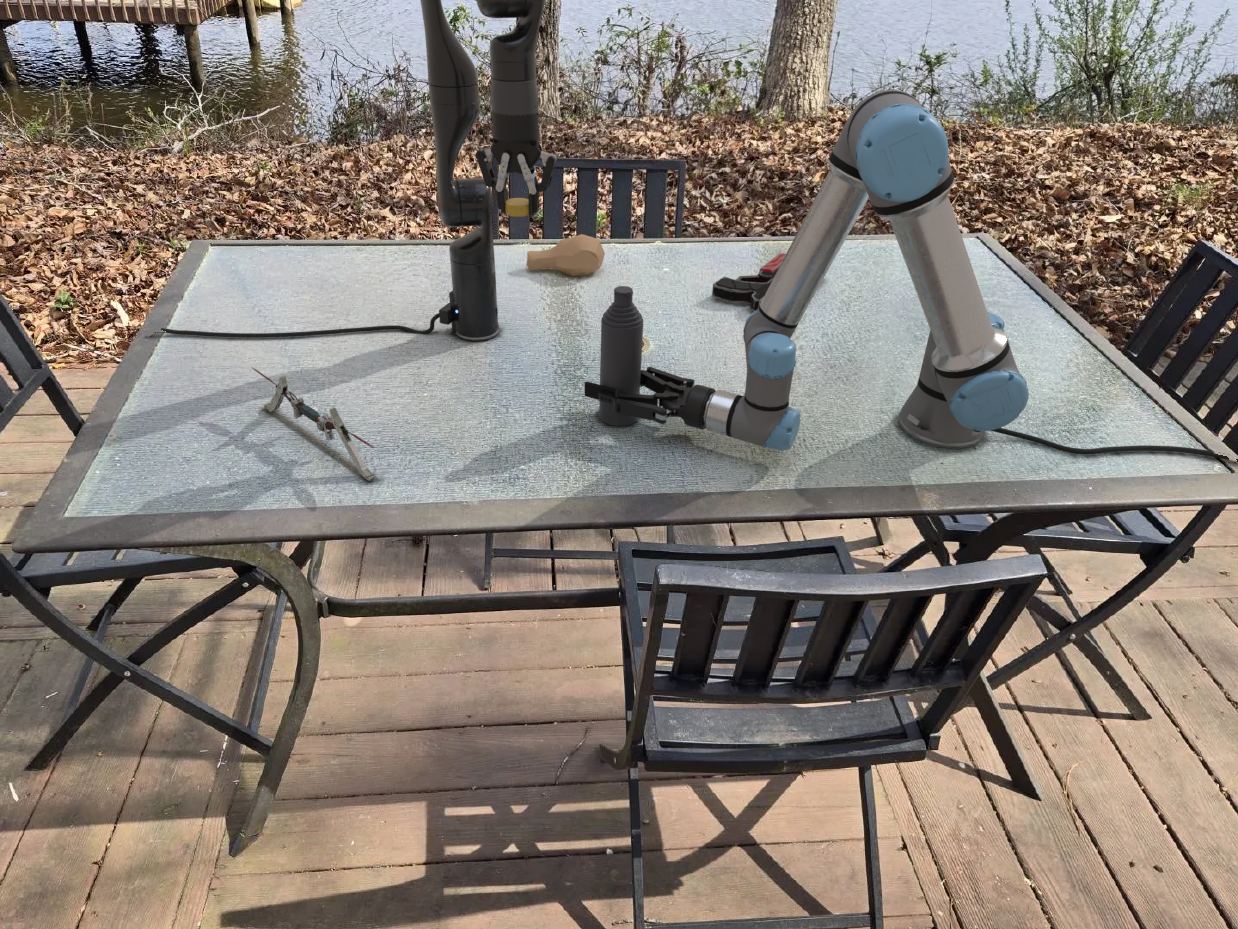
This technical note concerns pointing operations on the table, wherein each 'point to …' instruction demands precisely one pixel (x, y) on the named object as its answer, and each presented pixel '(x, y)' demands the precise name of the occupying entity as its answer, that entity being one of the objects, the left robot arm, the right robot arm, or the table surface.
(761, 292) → the gun
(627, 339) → the bottle
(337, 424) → the bow
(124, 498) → the table surface
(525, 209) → the cap
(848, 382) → the table surface
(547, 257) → the squash
